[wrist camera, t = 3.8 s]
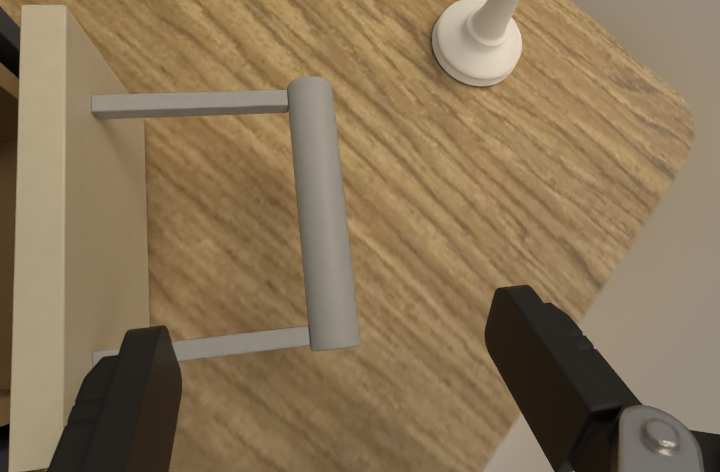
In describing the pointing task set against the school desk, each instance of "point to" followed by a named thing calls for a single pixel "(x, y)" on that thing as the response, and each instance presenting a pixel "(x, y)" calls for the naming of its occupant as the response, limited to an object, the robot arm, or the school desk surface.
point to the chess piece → (478, 41)
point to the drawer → (125, 223)
